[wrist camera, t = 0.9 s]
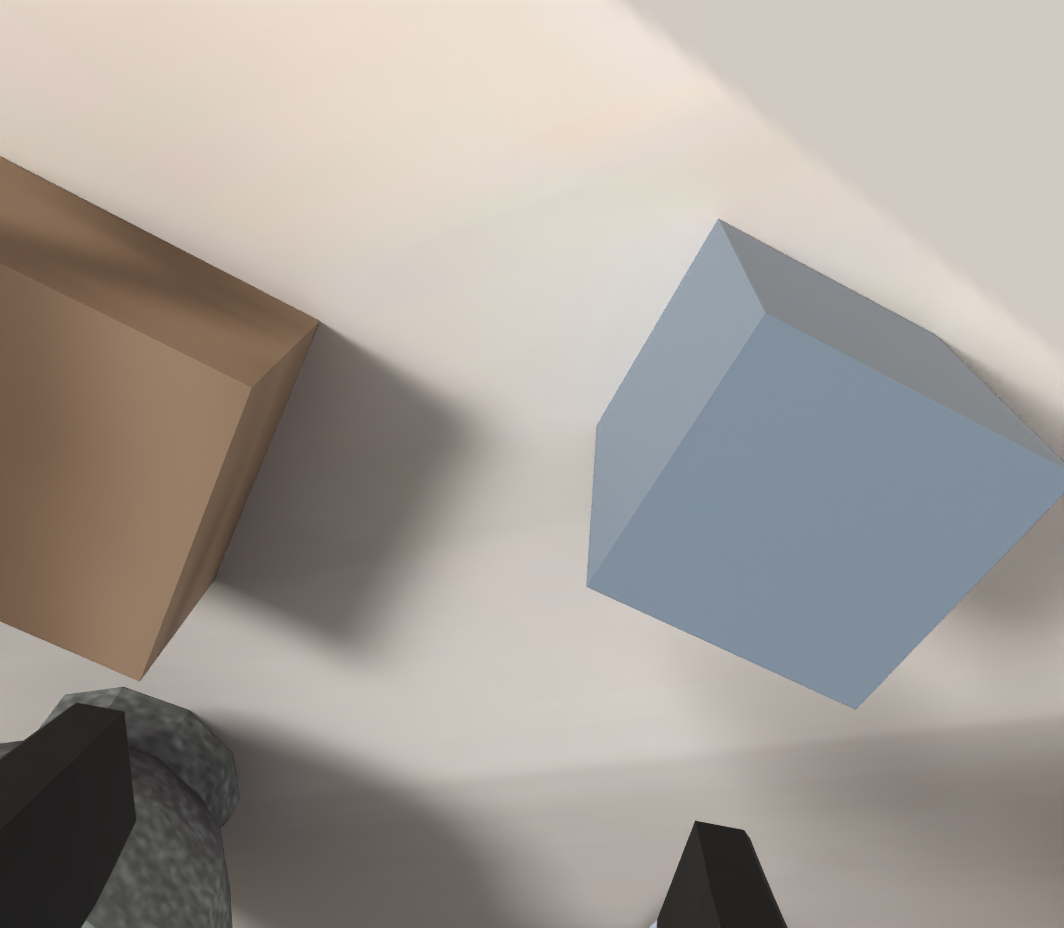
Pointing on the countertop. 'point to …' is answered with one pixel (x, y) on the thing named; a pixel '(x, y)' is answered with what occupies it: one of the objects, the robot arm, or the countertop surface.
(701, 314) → the slate block
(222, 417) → the walnut plinth
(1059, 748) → the countertop surface
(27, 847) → the robot arm
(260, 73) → the countertop surface
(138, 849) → the mortar and pestle
